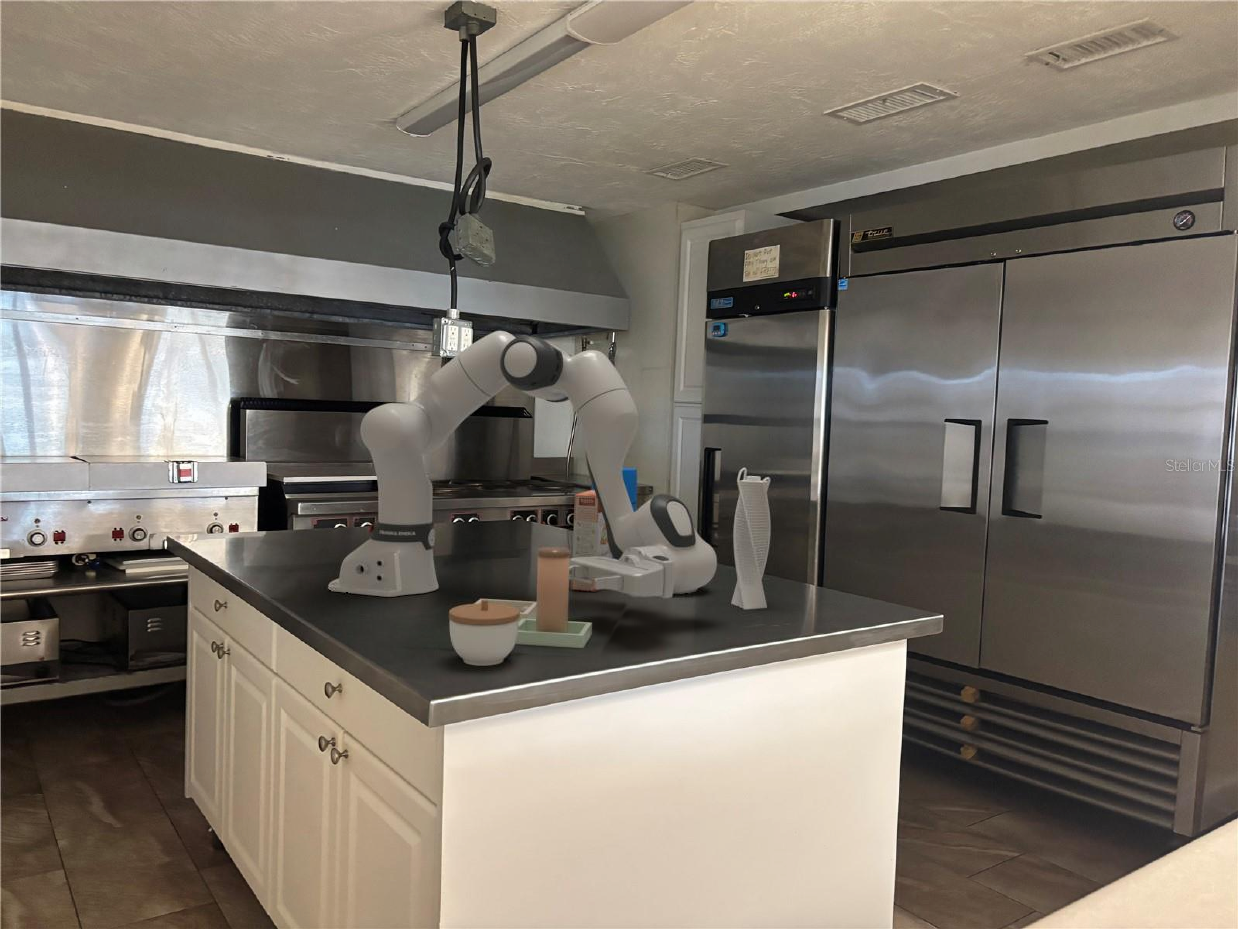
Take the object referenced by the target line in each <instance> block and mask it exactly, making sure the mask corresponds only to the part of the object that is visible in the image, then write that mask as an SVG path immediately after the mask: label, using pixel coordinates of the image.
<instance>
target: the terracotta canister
mask: <svg viewBox="0 0 1238 929" xmlns="http://www.w3.org/2000/svg"><path fill="white" fill-rule="evenodd" d="M536 551H537V553H536V554H537V570H536V571H537V574H536V575H537V576H536V577H537V580H536V602H537V609H536V632H553V633H567V632H568V621H569V596H570V595H569V590H570V587H569V585H570V580H569V561H570V559H571V558H570V557H571V548H567V547H561V546H547V547H546V546H545V547H544V546H543V547H538V548H537V550H536Z"/></svg>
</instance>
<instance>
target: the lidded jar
mask: <svg viewBox="0 0 1238 929" xmlns="http://www.w3.org/2000/svg"><path fill="white" fill-rule="evenodd" d="M483 599H484V600H481V603H479V604H474V603H471V604H470V603H468V604H462V605H458V606H455V607H452V608H451V609H449V610H448V611H449V612H448V619H449V635H450V641H451V645H452V647H453V649H454V650H455V652H456V654H458V656H459V657H460V658H462V659H463V663H465V664H467V665H471V666H479V667H485V666H486V667H487V666H488V667H489V666H495V665H499V664H501V663H503V662H504V659H505V658H506V657H508V656H509V654H511V652H512V651H513V649H514V647H515V646H516V644H515V643H516V639H517V635H518V627H519V617H520V611H519V610H518V609H517V608H515V607H512V606H508V605H503V604H491V603H488V600H486V599H487V598H483Z"/></svg>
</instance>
